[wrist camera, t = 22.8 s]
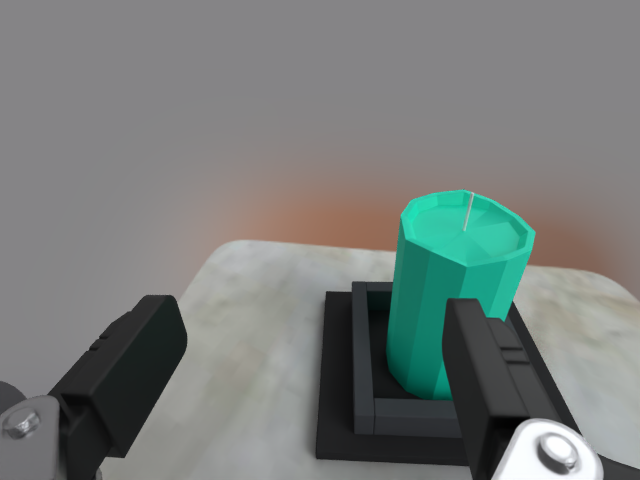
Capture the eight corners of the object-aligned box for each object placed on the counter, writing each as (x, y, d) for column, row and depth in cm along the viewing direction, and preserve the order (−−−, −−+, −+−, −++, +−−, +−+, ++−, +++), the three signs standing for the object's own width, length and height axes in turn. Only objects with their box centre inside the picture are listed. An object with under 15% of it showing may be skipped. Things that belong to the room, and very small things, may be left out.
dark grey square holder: (316, 459, 19) (314, 433, 18) (326, 298, 29) (325, 271, 27) (591, 472, 18) (615, 445, 17) (506, 301, 28) (517, 273, 26)
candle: (391, 316, 26) (409, 160, 19) (479, 332, 25) (534, 170, 18) (379, 391, 21) (396, 220, 14) (487, 415, 20) (565, 240, 13)
